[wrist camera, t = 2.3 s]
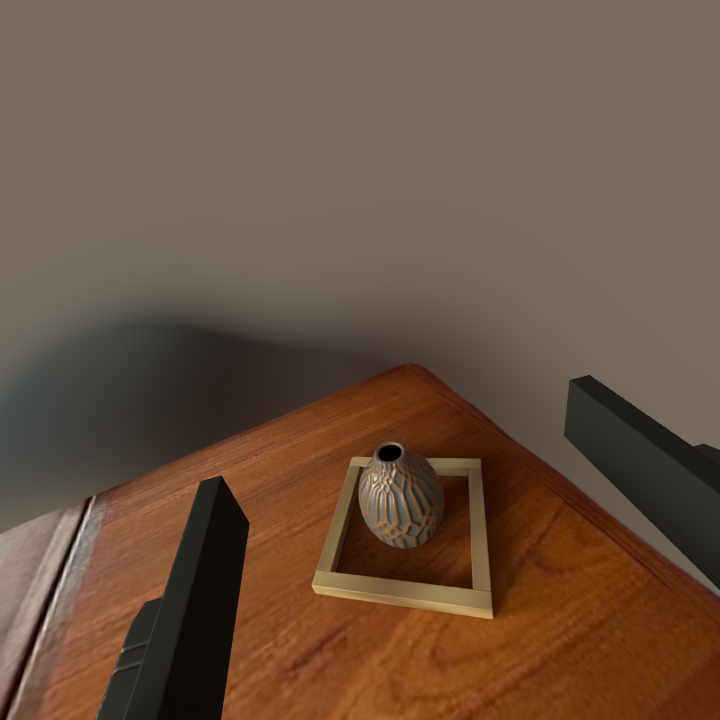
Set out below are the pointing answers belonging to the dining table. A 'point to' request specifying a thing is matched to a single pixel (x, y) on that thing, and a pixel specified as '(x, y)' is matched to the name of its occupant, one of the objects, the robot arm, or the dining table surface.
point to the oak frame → (407, 592)
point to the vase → (401, 496)
